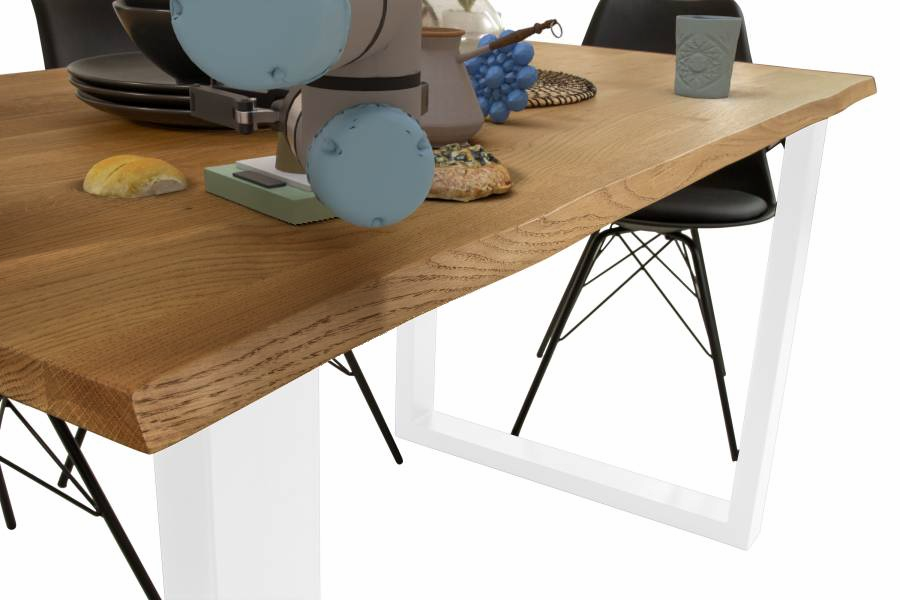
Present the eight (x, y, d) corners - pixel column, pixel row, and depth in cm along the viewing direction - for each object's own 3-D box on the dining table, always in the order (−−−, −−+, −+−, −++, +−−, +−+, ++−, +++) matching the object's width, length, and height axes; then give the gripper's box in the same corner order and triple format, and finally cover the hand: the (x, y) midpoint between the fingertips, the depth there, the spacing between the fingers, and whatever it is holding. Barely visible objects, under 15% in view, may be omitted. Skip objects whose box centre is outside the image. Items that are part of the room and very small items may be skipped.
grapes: (552, 124, 132) (558, 30, 128) (523, 131, 127) (528, 33, 123) (481, 113, 139) (484, 23, 135) (451, 119, 134) (453, 26, 129)
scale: (295, 226, 84) (294, 193, 83) (204, 190, 94) (203, 161, 93) (414, 202, 92) (415, 172, 91) (319, 172, 102) (318, 145, 101)
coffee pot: (366, 143, 117) (366, 9, 112) (422, 129, 126) (424, 5, 121) (527, 168, 106) (534, 22, 101) (575, 151, 115) (585, 16, 110)
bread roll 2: (441, 167, 104) (446, 120, 102) (532, 199, 99) (539, 150, 97) (373, 191, 96) (377, 141, 94) (468, 227, 91) (476, 174, 88)
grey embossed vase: (690, 99, 155) (698, 19, 151) (656, 90, 164) (663, 14, 160) (746, 98, 158) (755, 19, 154) (710, 88, 167) (718, 14, 163)
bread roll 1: (143, 184, 96) (140, 142, 95) (201, 201, 91) (199, 157, 89) (64, 199, 90) (59, 154, 89) (121, 218, 85) (117, 171, 83)
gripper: (163, 183, 71) (163, 129, 91) (498, 172, 78) (431, 123, 97) (156, 76, 69) (157, 43, 88) (502, 73, 75) (433, 43, 94)
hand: (301, 85), depth 93 cm, fingers open, 13 cm apart
